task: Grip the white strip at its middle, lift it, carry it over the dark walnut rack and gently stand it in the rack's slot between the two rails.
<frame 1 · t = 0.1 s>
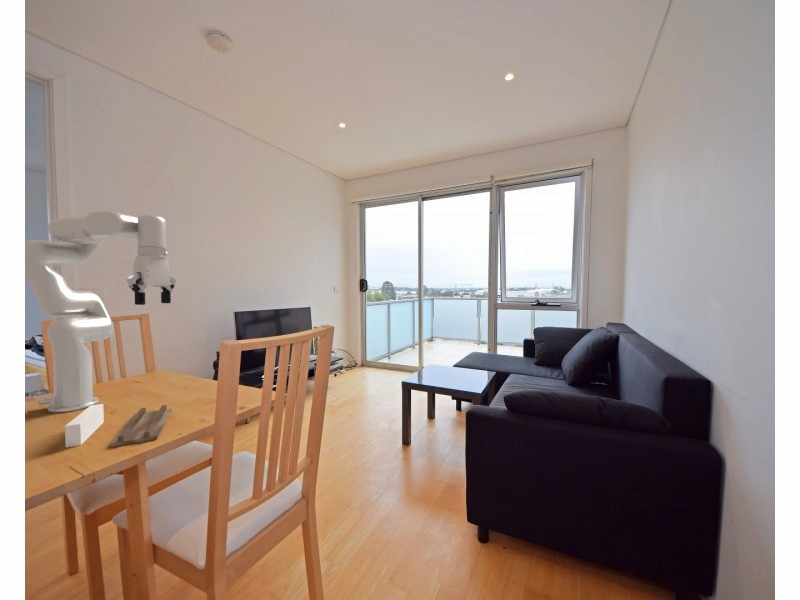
hand: (153, 303, 106), 37 cm above the table, tool pointing down, fingers open, 9 cm apart
white strip: (86, 434, 91), on the table
walnut rack: (145, 427, 95), on the table
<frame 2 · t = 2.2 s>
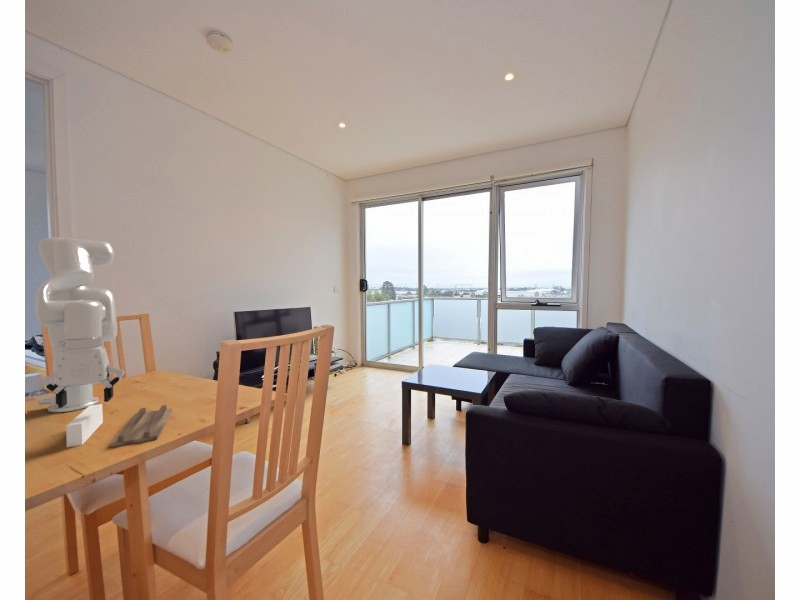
hand: (85, 403, 90), 9 cm above the table, tool pointing down, fingers open, 9 cm apart
nothing on the table moved.
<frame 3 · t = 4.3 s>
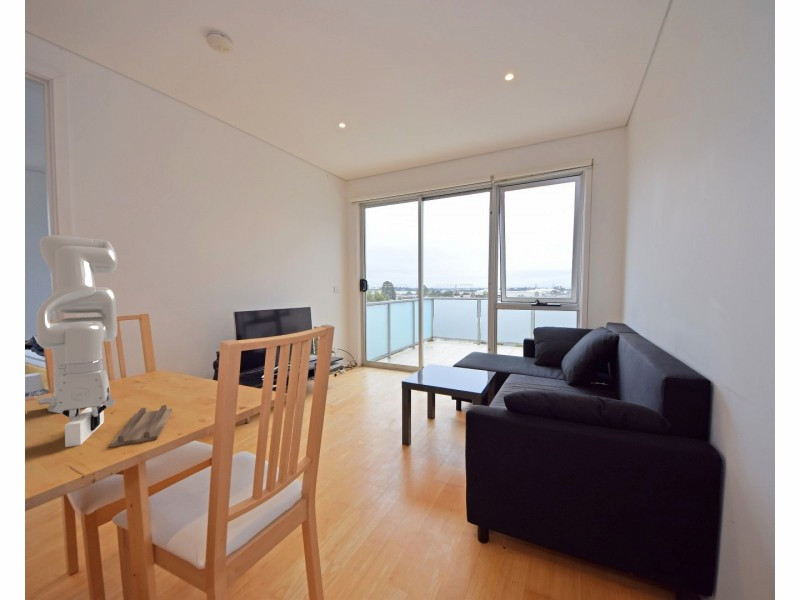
hand: (86, 429, 91), 1 cm above the table, tool pointing down, fingers closed on white strip, 2 cm apart
white strip: (86, 433, 91), on the table, touching gripper
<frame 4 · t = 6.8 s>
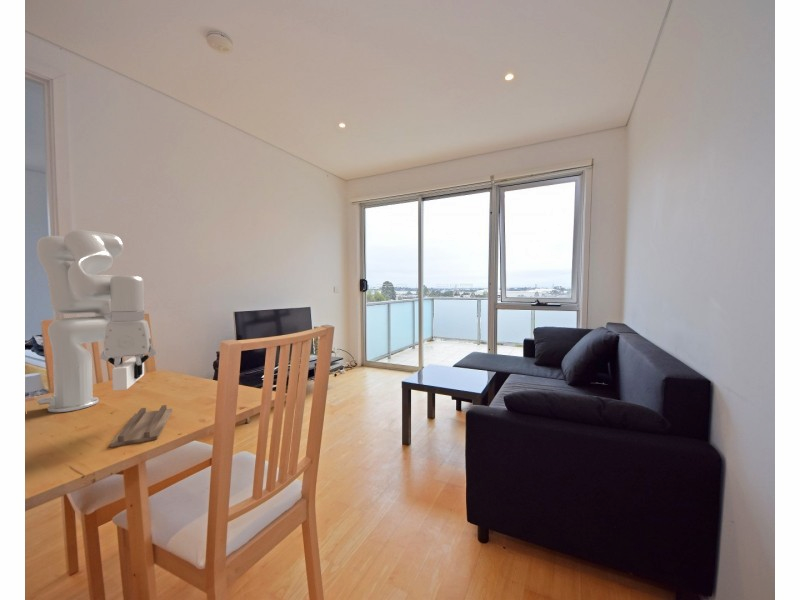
hand: (129, 377, 93), 16 cm above the table, tool pointing down, fingers closed on white strip, 3 cm apart
white strip: (129, 382, 93), point 14 cm above the table, touching gripper
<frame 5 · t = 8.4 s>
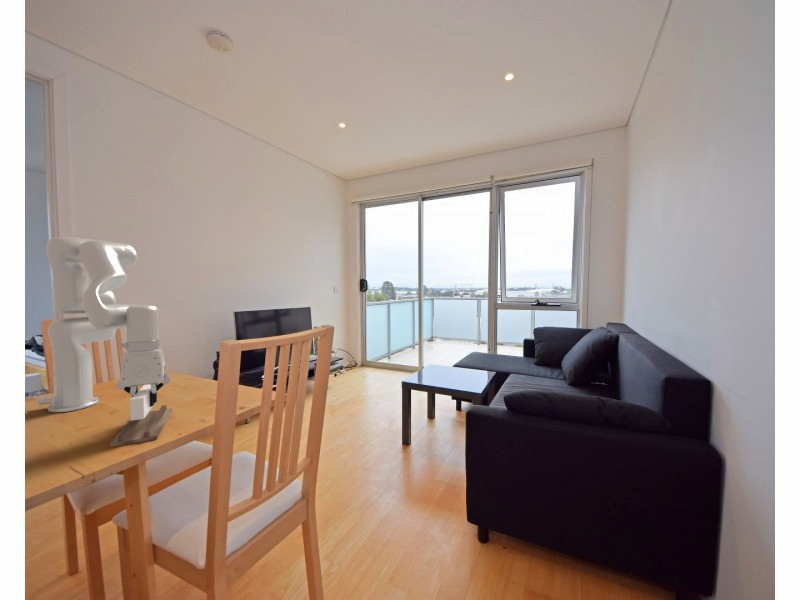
hand: (145, 405, 95), 7 cm above the table, tool pointing down, fingers closed on white strip, 3 cm apart
white strip: (145, 409, 95), point 5 cm above the table, touching gripper
when the fingers open (3 cm above the table, at t = 9.6 s): white strip drops 1 cm, resting on walnut rack.
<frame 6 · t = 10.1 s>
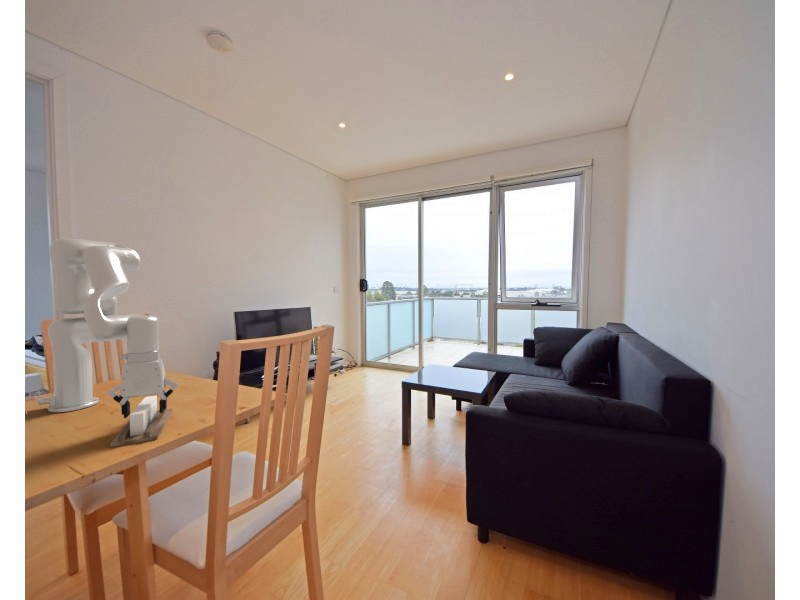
hand: (144, 413, 95), 4 cm above the table, tool pointing down, fingers open, 8 cm apart
white strip: (144, 423, 95), point 1 cm above the table, touching walnut rack
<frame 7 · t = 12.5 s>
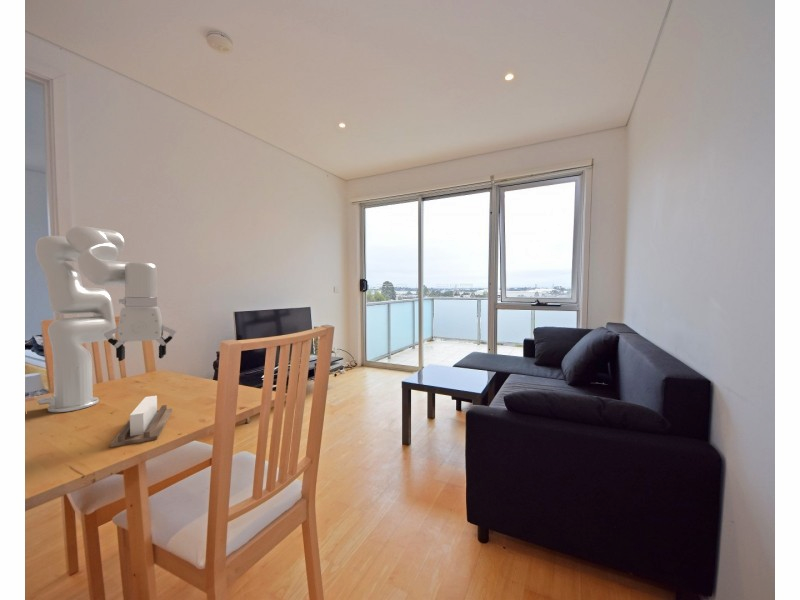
hand: (142, 358, 96), 21 cm above the table, tool pointing down, fingers open, 9 cm apart
nothing on the table moved.
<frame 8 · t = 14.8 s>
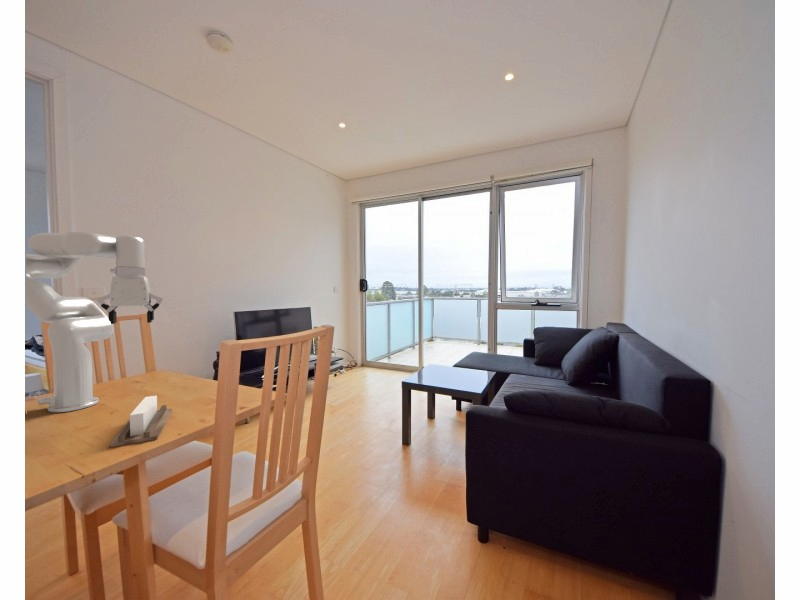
hand: (132, 322, 107), 30 cm above the table, tool pointing down, fingers open, 9 cm apart
nothing on the table moved.
at the end: white strip inside the target area on the walnut rack (0.1 cm from its centre), point 1.0 cm above the walnut rack's base; white strip tilted 0°; the gripper is holding nothing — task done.
